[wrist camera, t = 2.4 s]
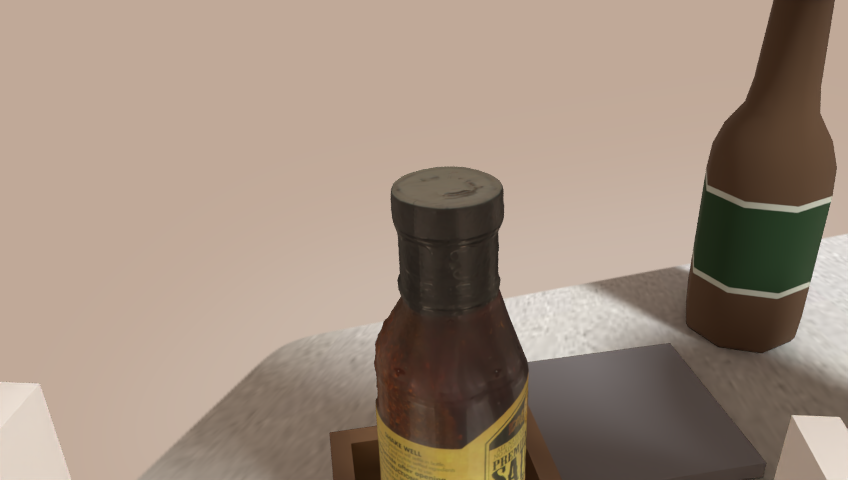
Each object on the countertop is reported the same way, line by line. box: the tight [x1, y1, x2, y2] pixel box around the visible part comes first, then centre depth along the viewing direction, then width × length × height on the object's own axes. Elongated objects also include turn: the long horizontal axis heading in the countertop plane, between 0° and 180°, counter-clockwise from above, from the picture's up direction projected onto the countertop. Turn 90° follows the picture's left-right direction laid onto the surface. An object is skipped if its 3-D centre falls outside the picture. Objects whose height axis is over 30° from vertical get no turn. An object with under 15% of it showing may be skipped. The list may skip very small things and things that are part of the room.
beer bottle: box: [686, 0, 837, 353], centre depth 46 cm, size 8×8×24 cm
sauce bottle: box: [374, 167, 529, 480], centre depth 30 cm, size 7×6×20 cm
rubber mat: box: [527, 343, 766, 480], centre depth 43 cm, size 11×11×1 cm
